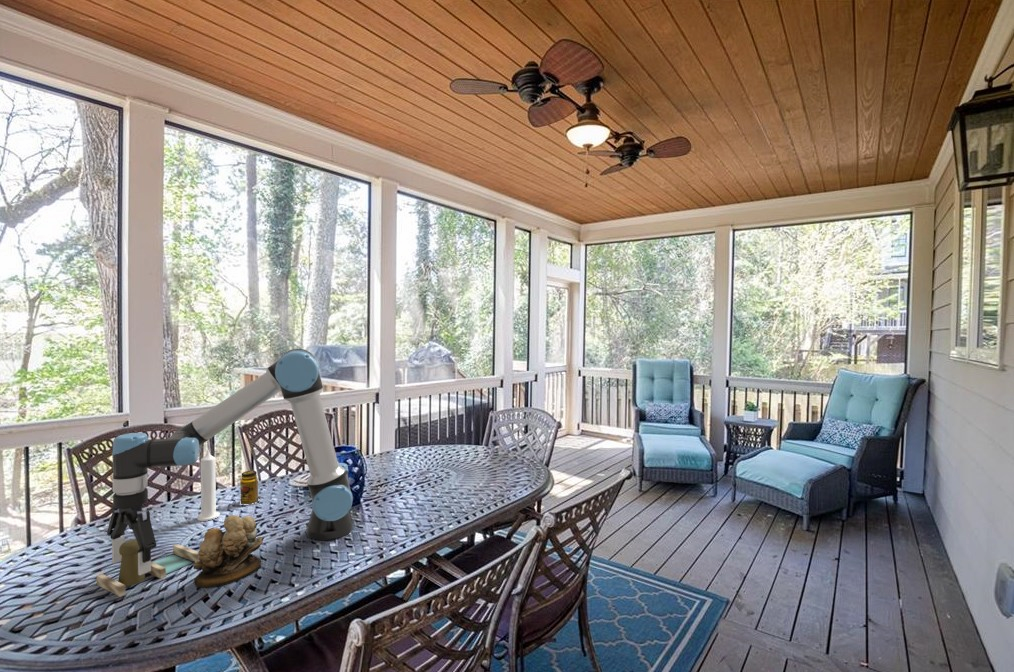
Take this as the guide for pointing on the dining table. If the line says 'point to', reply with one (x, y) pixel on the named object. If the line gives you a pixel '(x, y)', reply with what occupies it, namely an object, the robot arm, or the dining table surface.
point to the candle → (208, 488)
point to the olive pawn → (129, 564)
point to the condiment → (249, 487)
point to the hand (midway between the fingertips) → (131, 566)
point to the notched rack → (154, 568)
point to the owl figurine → (228, 553)
